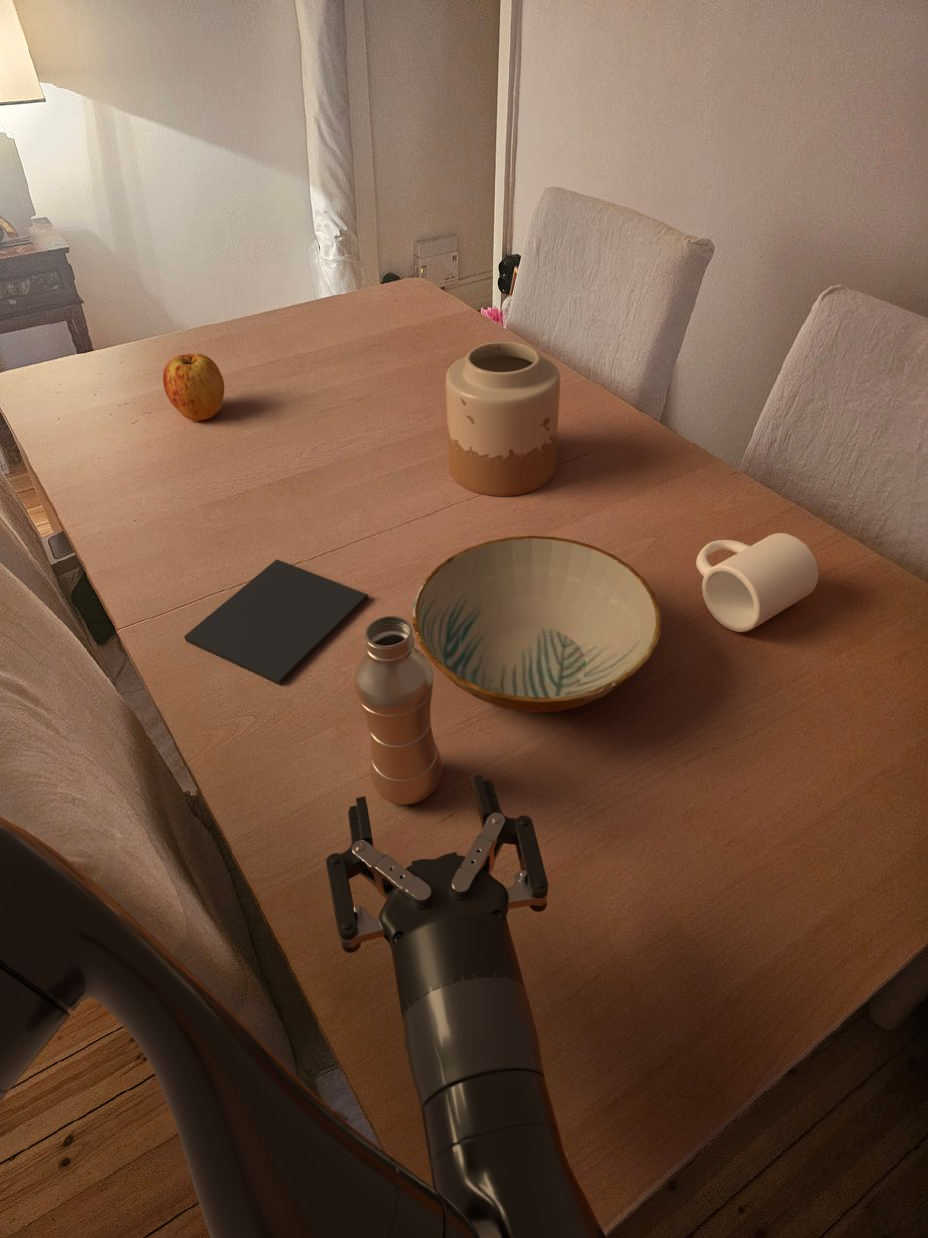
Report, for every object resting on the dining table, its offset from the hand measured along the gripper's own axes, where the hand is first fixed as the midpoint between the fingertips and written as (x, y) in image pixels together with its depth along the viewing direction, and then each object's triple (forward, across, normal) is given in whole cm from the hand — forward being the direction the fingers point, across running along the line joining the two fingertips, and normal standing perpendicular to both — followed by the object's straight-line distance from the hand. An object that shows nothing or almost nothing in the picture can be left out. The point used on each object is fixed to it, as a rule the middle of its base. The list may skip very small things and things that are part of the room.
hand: (419, 792), depth 60 cm
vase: (+63, -22, +14) cm, 68 cm away
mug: (+28, -42, +14) cm, 52 cm away
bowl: (+24, -16, +14) cm, 32 cm away
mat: (+38, +11, +14) cm, 42 cm away
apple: (+90, +21, +14) cm, 94 cm away
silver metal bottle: (+11, 0, +14) cm, 18 cm away
